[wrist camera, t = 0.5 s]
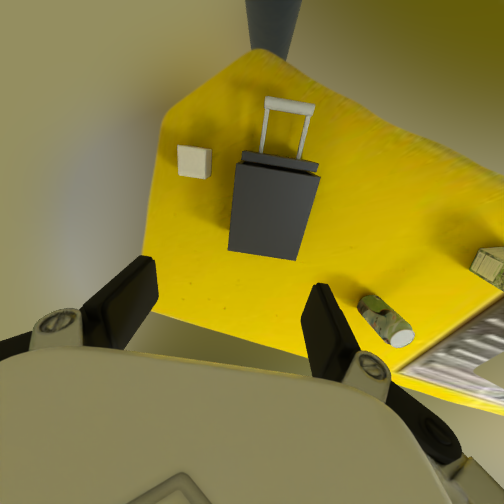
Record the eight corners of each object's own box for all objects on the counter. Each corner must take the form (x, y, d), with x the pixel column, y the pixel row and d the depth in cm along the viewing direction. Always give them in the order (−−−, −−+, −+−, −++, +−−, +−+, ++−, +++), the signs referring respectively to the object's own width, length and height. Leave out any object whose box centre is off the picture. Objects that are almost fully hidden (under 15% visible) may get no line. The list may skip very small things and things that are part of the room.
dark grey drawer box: (241, 160, 35) (236, 163, 28) (309, 171, 35) (320, 177, 28) (233, 233, 42) (227, 250, 35) (290, 241, 42) (295, 261, 35)
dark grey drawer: (251, 98, 30) (249, 87, 25) (323, 111, 30) (336, 103, 25) (237, 222, 40) (233, 235, 35) (291, 231, 40) (295, 244, 35)
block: (187, 145, 34) (177, 144, 31) (212, 149, 35) (205, 149, 31) (187, 171, 37) (178, 174, 33) (210, 175, 37) (204, 179, 33)
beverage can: (349, 301, 50) (373, 343, 39) (375, 285, 47) (408, 325, 36) (364, 314, 51) (390, 357, 41) (389, 299, 49) (425, 341, 38)
